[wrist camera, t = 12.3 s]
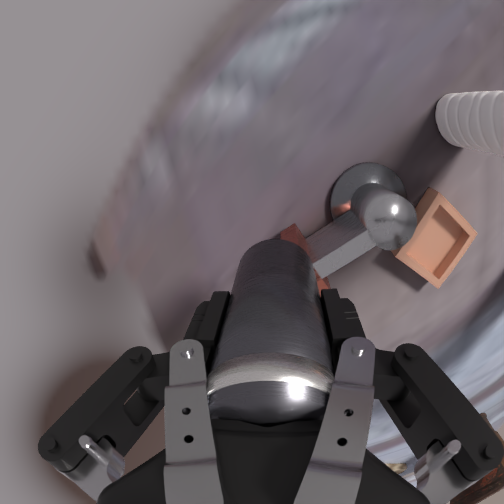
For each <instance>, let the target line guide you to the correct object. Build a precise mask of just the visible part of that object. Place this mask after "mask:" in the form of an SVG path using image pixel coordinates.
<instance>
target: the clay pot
mask: <svg viewBox="0 0 504 504" xmlns="http://www.w3.org/2000/svg"><path fill="white" fill-rule="evenodd" d="M480 415H481V417H482V418H483V419H484V420H485V422H486V423H487V424H488V425H489V427H490V428H491V429H492V430H493V432H494V433H495V434H496V436H497V437H498V438H499V439H500V441H501V442H502V444H503V447H504V441H503V439H502V438H501V436H500V435H499V434H498V432H497V431H495V430H494V429H493V428H492V426H491V424H490V423H489V421H488V419H487V416H486V414H485V413H481V414H480ZM503 488H504V456H503V459H502V461H501V463H500V464H499V465H498V466H497V467H496V468H495V469H494V470H492V471H491V472H490V473H488V474H487V475H486V476H484V477H483V478H481V479H480V480H479V481H477V482H476V483H474V484H473V485H471V486H470V487H468V488H467V489H465V490H464V491H462V492H460V493H459V494H458V495H456V496H455V497H454V498H453V499H451V500H450V504H477V503H479V502H481V501H482V500H484V499H486V498H487V497H489V496H491V495H493V494H494V493H496V492H498V491H500V490H501V489H503Z"/></svg>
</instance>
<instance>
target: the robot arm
mask: <svg viewBox="0 0 504 504" xmlns="http://www.w3.org/2000/svg"><path fill="white" fill-rule="evenodd" d="M320 298H321V303H322V307H323V312H324V317H325V322H326V327H327V332H328V337H329V342H330V347H331V353H332V358H333V364H334V369H335V378H334V381H333V385H332V389H331V393H330V397H329V401H328V404H327V408H326V412H325V415H324V419H323V420H310V421H295V422H291V423H287V424H283V425H278V426H273V427H262V426H258V425H254V424H250V423H246V422H243V421H238V420H223V419H212V413H211V411H210V408H209V400H208V392H207V377H208V376H209V373H210V369H211V366H212V362H213V358H214V354H215V351H216V347H217V343H218V340H219V336H220V332H221V329H222V325H223V321H224V318H225V314H226V310H227V307H228V303H229V299H230V292H229V291H214V292H213V295H212V297H211V300H210V301H204V302H202V303H201V304H200V305H199V306H198V307H197V309H196V311H195V313H194V316H193V318H192V321H191V323H190V325H189V327H188V330H187V332H186V335H185V337H184V339H183V340H181V341H179V342H177V343H175V344H174V345H173V346H172V348H171V350H170V352H167V353H162V354H155V355H152V353H151V351H150V350H149V349H148V348H146V347H142V346H138V347H133V348H131V349H129V350H127V351H126V352H125V353H124V354H123V355H122V356H121V357H120V358H119V359H118V360H117V361H116V362H115V363H114V364H113V365H112V366H111V367H110V368H109V369H108V370H107V371H106V372H105V373H104V374H103V375H102V376H101V377H100V378H99V379H98V380H97V381H96V382H95V383H94V384H93V385H92V386H91V387H90V388H89V389H88V390H87V391H86V392H85V393H84V394H83V395H82V396H81V397H80V398H79V399H78V400H77V401H76V402H75V403H74V404H73V405H72V406H71V407H70V408H69V409H68V410H67V411H66V412H65V413H64V414H63V415H62V416H61V417H60V418H59V419H58V420H57V421H56V422H55V423H54V424H53V425H52V427H50V428H49V429H48V430H47V432H46V433H45V434H44V435H43V436H42V437H41V438H40V440H39V443H38V450H39V453H40V455H41V456H42V458H44V459H45V460H46V461H47V462H49V463H50V464H51V465H52V466H54V468H55V469H56V470H58V471H59V472H61V473H62V474H63V475H65V476H66V477H68V478H69V479H70V480H72V481H74V482H75V483H76V484H77V485H78V486H79V487H80V488H81V489H82V490H84V492H86V493H87V494H88V495H89V496H90V497H92V498H93V499H94V500H95V501H96V502H97V503H96V504H446V503H447V502H449V501H450V500H451V499H453V498H454V497H455V496H456V495H458V494H459V493H460V492H462V491H464V490H465V489H467V488H468V487H470V486H471V485H473V484H474V483H476V482H477V481H479V480H480V479H481V478H483V477H484V476H486V475H487V474H488V473H490V472H491V471H492V470H494V469H495V468H496V467H497V466H498V465H499V464H500V463H501V461H502V459H503V456H504V447H503V444H502V442H501V441H500V439H499V438H498V437H497V436H496V434H495V433H494V432H493V430H492V429H491V428H490V427H489V425H488V424H487V423H486V422H485V420H484V419H483V418H482V417H481V415H480V414H479V413H478V412H477V410H476V409H475V408H474V407H473V406H472V404H471V403H470V402H469V401H468V400H467V398H466V397H465V396H464V395H463V394H462V393H461V391H460V390H459V389H458V388H457V387H456V386H455V384H454V383H453V382H452V381H451V380H450V379H449V378H448V377H447V375H446V374H445V373H444V372H443V371H442V370H441V369H440V368H439V366H438V365H437V364H436V363H435V362H434V361H433V360H432V359H431V358H430V357H429V356H428V354H427V353H426V352H425V351H424V350H423V349H422V348H421V347H419V346H417V345H415V344H410V343H406V344H402V345H400V346H398V347H397V348H396V350H395V352H391V351H383V350H379V349H376V348H375V346H374V344H373V343H372V342H371V341H370V340H368V339H366V337H365V334H364V331H363V328H362V325H361V322H360V320H359V318H358V314H357V313H356V309H355V306H354V304H353V303H352V302H351V301H350V300H349V299H348V298H341V299H340V297H339V294H338V291H337V289H321V297H320ZM136 389H137V391H136V392H135V394H134V395H133V396H132V397H131V398H130V399H129V400H128V402H127V403H126V404H125V405H124V403H125V401H126V400H127V399H128V398H129V397H130V396H131V395H132V393H133V392H134V391H135V390H136ZM373 399H379V400H380V402H381V404H382V405H383V407H384V408H385V410H386V411H387V413H388V414H389V416H390V417H391V419H392V420H393V422H394V424H395V425H396V427H397V428H398V430H399V431H400V433H401V434H402V436H403V437H404V439H405V441H406V442H407V444H408V445H409V447H410V448H411V450H412V452H413V453H414V455H415V456H416V458H417V459H418V461H417V462H416V464H415V468H414V473H415V476H416V479H417V487H416V488H415V487H414V486H413V485H411V484H410V483H409V482H407V481H406V480H405V479H403V478H402V477H401V476H400V475H398V474H397V473H396V472H394V471H393V470H392V469H391V468H389V467H388V466H387V465H386V464H384V463H383V462H382V461H381V460H379V459H378V458H377V457H376V456H375V455H373V454H372V453H371V452H370V451H369V450H367V449H366V445H367V439H368V434H369V428H370V421H371V415H372V407H373ZM164 406H165V447H166V448H165V449H164V450H162V451H161V452H159V453H158V454H156V455H155V456H154V457H152V458H151V459H149V460H148V461H146V462H145V463H143V464H142V465H140V466H138V467H137V468H135V469H134V470H132V471H131V472H129V473H127V474H126V475H124V476H123V477H121V478H120V476H122V475H123V474H124V466H125V461H124V456H125V455H126V454H127V453H128V451H129V450H130V449H131V448H132V446H133V445H134V444H135V443H136V441H137V440H138V439H139V438H140V436H141V435H142V434H143V433H144V431H145V430H146V429H147V427H148V426H149V425H150V424H151V422H152V421H153V420H154V418H155V417H156V416H157V415H158V413H159V412H160V411H161V410H162V408H163V407H164Z"/></svg>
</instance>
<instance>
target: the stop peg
mask: <svg viewBox="0 0 504 504" xmlns="http://www.w3.org/2000/svg"><path fill="white" fill-rule="evenodd" d="M334 378H335V369H334V364H333V358H332V353H331V347H330V342H329V337H328V332H327V327H326V322H325V317H324V312H323V307H322V303H321V298H320V293H319V289H318V284H317V280H316V276H315V271H314V267H313V263H312V261H311V259H310V257H309V255H308V254H307V253H306V251H305V250H304V249H302V248H301V247H300V246H298V245H297V244H295V243H293V242H290V241H287V240H283V239H270V240H265V241H261V242H259V243H257V244H255V245H253V246H252V247H251V248H249V249H248V250H247V251H246V252H245V254H244V255H243V257H242V259H241V260H240V263H239V267H238V270H237V274H236V277H235V281H234V285H233V288H232V292H231V296H230V299H229V303H228V307H227V310H226V314H225V318H224V321H223V325H222V329H221V332H220V336H219V340H218V343H217V347H216V351H215V354H214V358H213V362H212V366H211V369H210V373H209V376H208V377H207V392H208V400H209V408H210V411H211V413H212V419H223V420H238V421H243V422H246V423H250V424H254V425H258V426H262V427H273V426H278V425H283V424H287V423H291V422H295V421H310V420H323V419H324V415H325V412H326V408H327V404H328V401H329V397H330V393H331V389H332V385H333V381H334Z"/></svg>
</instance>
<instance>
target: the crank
mask: <svg viewBox="0 0 504 504" xmlns="http://www.w3.org/2000/svg"><path fill="white" fill-rule="evenodd" d="M416 225H417V215H416V211H415V209H414V207H413V205H412V204H411V203H410V202H409V201H408V200H406V199H405V198H403V197H402V196H400V195H398V194H397V193H395V192H393V191H392V190H390V189H388V188H386V187H385V186H383V185H381V184H378V183H366V184H364V185H362V186H360V187H359V188H358V189H357V190H356V191H355V192H354V194H353V196H352V199H351V203H350V211H348V212H347V213H345V214H343V215H342V216H340V217H339V218H337V219H336V220H334V221H332V222H331V223H329V224H328V225H326V226H325V227H323V228H321V229H320V230H318V231H317V232H315V233H314V234H312V235H310V236H309V237H307V238H306V239H305V237H304V236H303V235H302V233H301V232H300V230H299V229H298V227H297V226H296V224H295V223H294V224H293V225H291V226H290V227H288V228H287V229H285V230H283V231H282V232H281V239H283V240H287V241H290V242H293V243H295V244H297V245H298V246H300V247H301V248H302V249H304V250H305V251H306V253H307V254H308V255H309V257H310V259H311V261H312V263H313V267H314V271H315V276H316V280H317V284H318V289H319V293H320V297H321V289H331V288H330V285H329V281H328V278H327V276H328V275H329V274H331V273H333V272H334V271H336V270H338V269H339V268H341V267H343V266H344V265H346V264H348V263H349V262H351V261H353V260H354V259H356V258H357V257H359V256H361V255H362V254H364V253H365V252H367V251H369V250H370V249H372V248H373V247H375V246H377V247H379V248H381V249H383V250H395V249H398V248H401V247H402V246H404V245H405V244H406V243H407V242H408V241H409V240H410V239H411V238H412V236H413V234H414V232H415V230H416Z"/></svg>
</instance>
